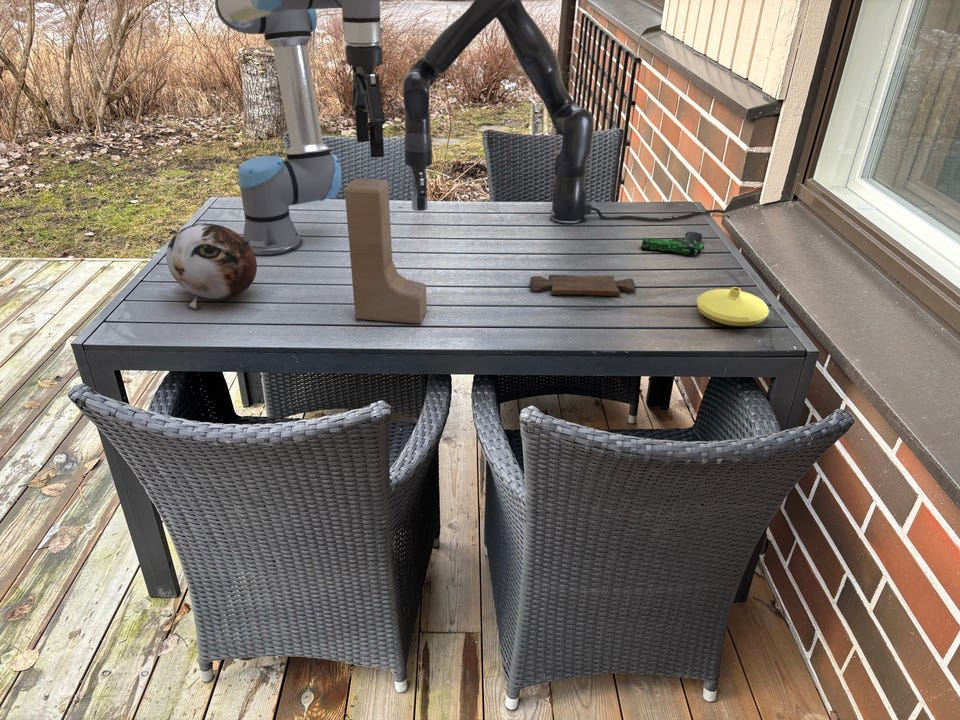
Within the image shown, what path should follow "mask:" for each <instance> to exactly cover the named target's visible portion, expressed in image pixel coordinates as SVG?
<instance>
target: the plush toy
mask: <svg viewBox="0 0 960 720" xmlns="http://www.w3.org/2000/svg"><path fill="white" fill-rule="evenodd" d="M177 232H178V233H177V234H174V235H173V237H171V239H170V241H169V243H168V245H167V248H166V254H165V260H166V265H167V268H168V271H169V273H170V275H171V276H172V277H173V279H174V280H175V281H176V282H177V284H178V285H180V286H181V287H182V288H183V289H185V290H186V291H187V292H189V293H191V294H194V295H195V298H194V299H193V300H192V302H190V303H189V304H188V306H189V307H191V308H192V309H197V308H198V307H197V298H198V297H201V298H205V299H210V300H226V299H230V298H233V297H236V296H238V295H241V294H242V293H244V292H245V291H247V290H248V289H249V288H250V286H251V285H252V284H253V282H254V280H255V278H256V275H257V271H258V262H257V257H256V254H254V252H253V250H252V248H251V247H250V245H249V244H248V242H249V241H246V240H245V239H244V238H243V237H241V236H242V235H240V234H239V233H238V232H236V231H234V230H233V229H231V228H229V227H226V226H223V225H220V224H215V223H205V222H204V223H195V224H191V225H188V226H186V227H183V228H182V229H180V230H179V231H177Z"/></svg>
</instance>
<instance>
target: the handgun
mask: <svg viewBox="0 0 960 720" xmlns="http://www.w3.org/2000/svg"><path fill="white" fill-rule="evenodd" d="M684 236H685V237H682V238H681V239H680V238H672V239H660V238H651V237H643V238H642V241H641V247H640V248H641V249H642V250H651V251H659V252H667V253H674V254H675V253H676V254H679V255H684V256H690V257H695V256H697V253H701V252H702V251H703V250H704V249H705V245H704V244H703V243H701V242H702V239H703V234H702V233H700V232H697V231H686V233H685V235H684ZM698 242H699V243H698Z"/></svg>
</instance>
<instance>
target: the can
mask: <svg viewBox="0 0 960 720" xmlns="http://www.w3.org/2000/svg"><path fill="white" fill-rule="evenodd" d="M420 193H423V191H420ZM426 194H427V196H426V197H425V210H418V209H417V197H416V191H414V190H412V192H411V209H412V210H413V211H415V212H424V211H427V210H428V191H426Z"/></svg>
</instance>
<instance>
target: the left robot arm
mask: <svg viewBox="0 0 960 720" xmlns="http://www.w3.org/2000/svg"><path fill="white" fill-rule="evenodd" d="M214 8H215V13H216V14H217V16H218V18H219V19H220V21H221V22H222V23H223V25H225V26H226V27H228V28H229V29H231V30H233V31H235V32H238V33H241V34H247V35H264V40H265V43H266V44H267V45H268V46H269V47H271V49H272V51H273V57H274V61H275V67H276V72H277V79H278V83H279V89H280V94H281V101H282V107H283V111H284V117H285V123H286V128H287V133H288V138H289V139H288V140H289V145H290V146H289V148H288V149H287V151H286V152H285V154H286V160H283V158H282V157H281V156H279V155H273V154H271V155H260V156H257V157H253V158H250V159H248V160H245V161H244V162H243V163H241V165H240V166H239V167H238V170H237V174H238V186H239V190H240V196H241V201H242V208H243V212H244V213H243V215H244V219H245V220H244V226H243V228H244V229H243V235H240V236H241V237H243V238H244V239H245V240H246V241H249V242H248V244H249V245H250V247H251V248H252V250H253V252H254V254H255V256H256V255H257V256H275V255H281V254H282V255H283V254H285V253H289V252H291V251H293V250H296V249H297V248H298V247H299V246H300V244H301V241H300V235H299V233H298V231H297V229H296V227H295V225H294V223H293V220H292V218H291V216H290V207H289V206H295V205H301V204H307V203H312V202H313V203H314V202H318V201H319V202H323V201H325V200H328V199H332V198H335V197H337V195H338V194H339V193H340V189H341V187H342V180H343V179H342V178H343V177H342V175H343V174H342V168H341V167H342V166H341V163H340V161H339V158H338V157H337V155H335V154H334V153H331V149H330V147H329V146H328V145H326V144H325V142H324V141H323V140H324V139H323V135H322V128H321V123H320V116H319V111H318V105H317V98H316V92H315V87H314V86H315V85H314V80H313V75H312V74H313V73H312V68H311V62H310V61H311V60H310V56H309V49H308V45H309V44H310V42H311V40H312V39H313V38H312V37H313V36H312V33H313V32H314V31H315V30H316V29H317V25H318V22H317V19H318V15H317V10H323V9H324V10H326V9H341V11H342V28H343V39H344V40H343V41H344V42H345V43H346V45H345V47H344V50H345V52H344V53H345V63H346V64H347V66H350V67H351V69H352V95H351V105H352V107H353V110H354V120H355V130H356V131H355V133H356V142H357V143H368V142H369V150H370V158H371V159H374V158H384V157H385V147H384V128H383V127H384V125H386V119H385V113H384V107H383V100H382V99H383V98H382V93H381V87H380V75H379V73H375V70H374V68H375V67H380V66H381V65H383V63H384V58H383V46H382V45H381V44H380V43H381V42H382V32H383V31H384V25H381V23H382V22H381V3H380V0H214ZM178 232H179V231H176V230H175V229H173V230H171V231H170V232H168V235H169V236H170V235H173V234H174V235H176V234H177V233H178Z"/></svg>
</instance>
